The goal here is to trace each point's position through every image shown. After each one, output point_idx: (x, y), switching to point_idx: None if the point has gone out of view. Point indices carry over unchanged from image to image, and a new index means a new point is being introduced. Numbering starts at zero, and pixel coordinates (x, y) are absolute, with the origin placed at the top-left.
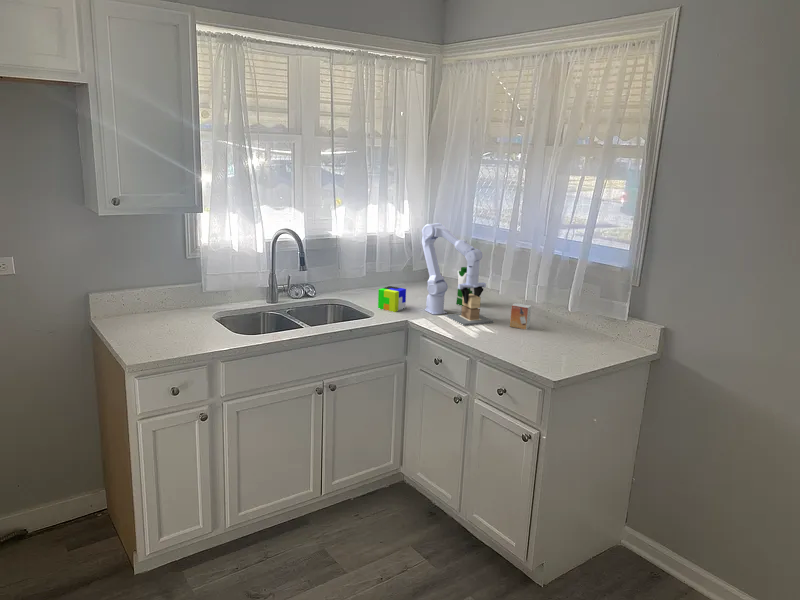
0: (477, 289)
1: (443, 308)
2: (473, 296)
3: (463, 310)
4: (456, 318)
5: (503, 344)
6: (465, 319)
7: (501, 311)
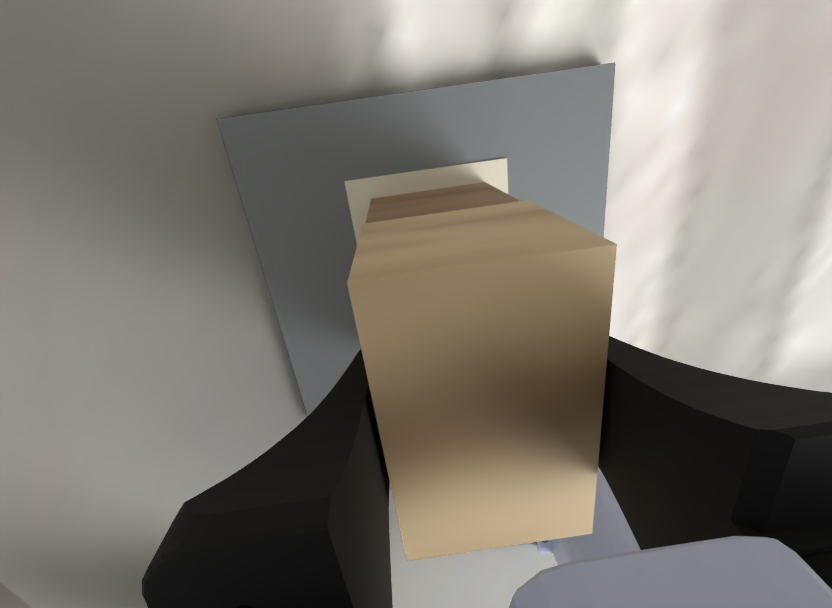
0: (363, 575)
1: None
2: (480, 387)
3: None
4: None
5: None
6: None
7: (46, 456)
